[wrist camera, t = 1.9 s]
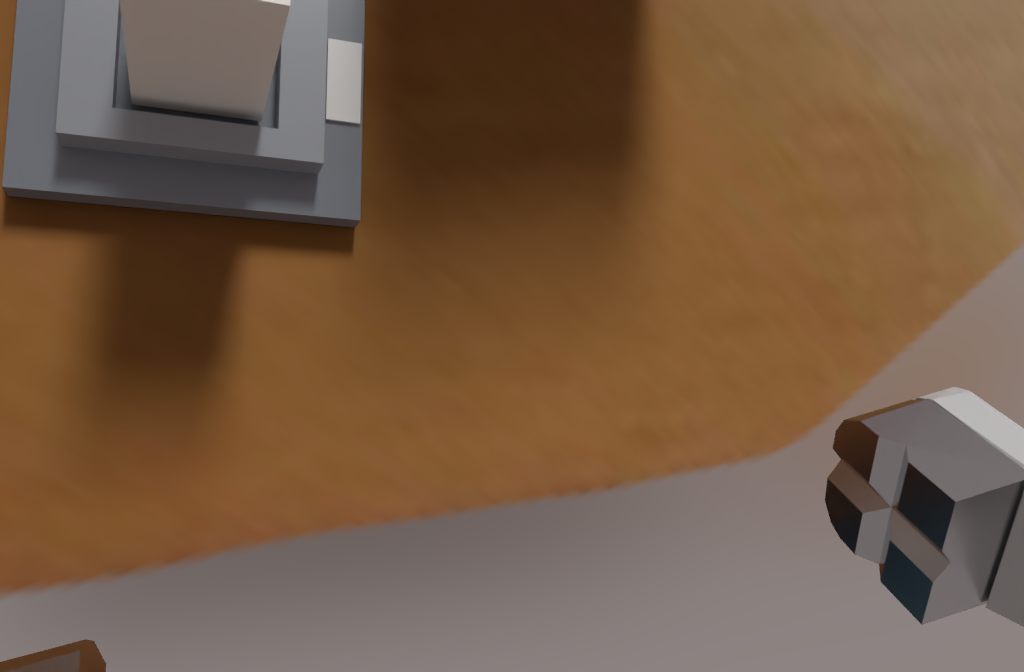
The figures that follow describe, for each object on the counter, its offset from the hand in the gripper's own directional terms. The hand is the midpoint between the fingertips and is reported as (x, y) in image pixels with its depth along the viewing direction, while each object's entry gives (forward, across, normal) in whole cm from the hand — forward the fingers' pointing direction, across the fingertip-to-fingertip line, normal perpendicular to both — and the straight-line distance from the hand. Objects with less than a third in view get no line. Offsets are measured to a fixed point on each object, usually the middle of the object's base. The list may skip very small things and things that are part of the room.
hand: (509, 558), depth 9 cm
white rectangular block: (+25, +2, 0) cm, 25 cm away
